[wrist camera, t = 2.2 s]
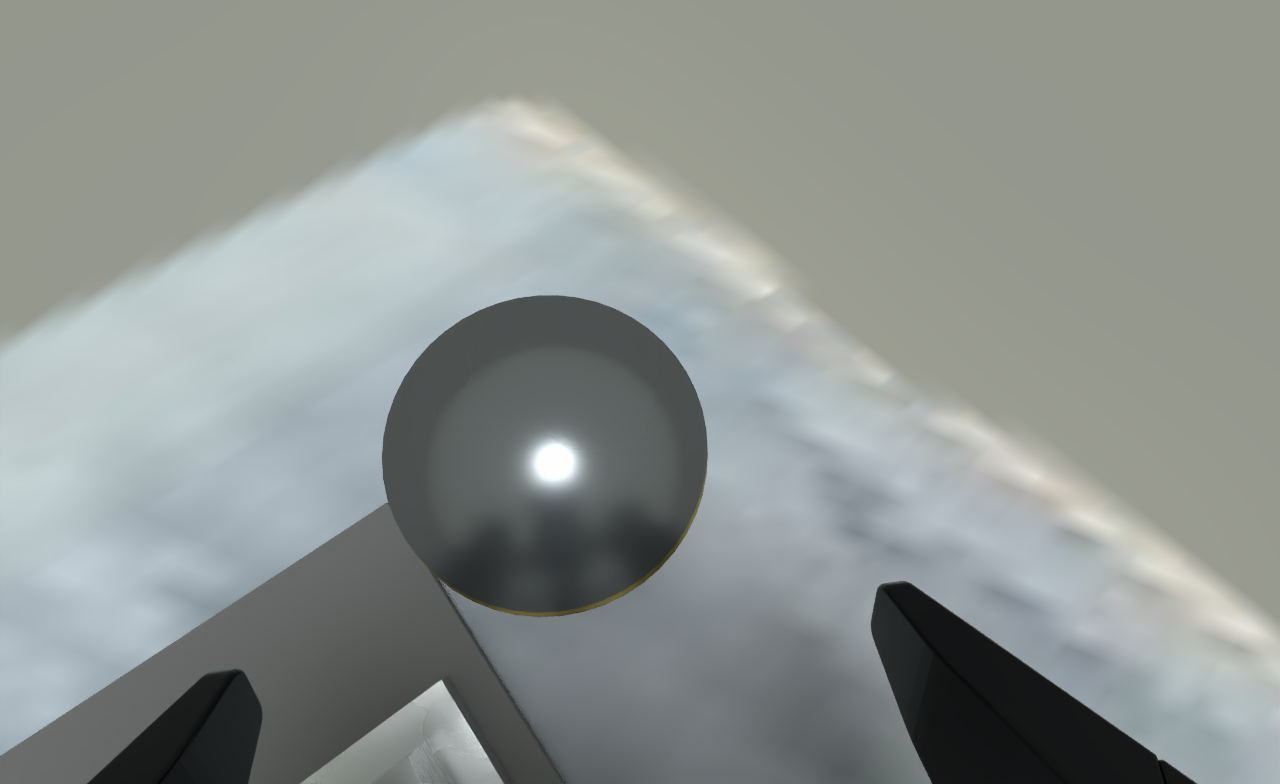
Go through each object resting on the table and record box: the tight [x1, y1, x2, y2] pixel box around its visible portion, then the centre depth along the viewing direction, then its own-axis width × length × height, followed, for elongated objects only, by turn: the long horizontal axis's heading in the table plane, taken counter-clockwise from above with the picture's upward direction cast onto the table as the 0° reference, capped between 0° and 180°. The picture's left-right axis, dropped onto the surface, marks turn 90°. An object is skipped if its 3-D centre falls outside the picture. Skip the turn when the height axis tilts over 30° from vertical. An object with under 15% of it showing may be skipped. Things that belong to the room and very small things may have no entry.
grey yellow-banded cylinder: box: [382, 296, 708, 617], centre depth 13 cm, size 4×4×13 cm
